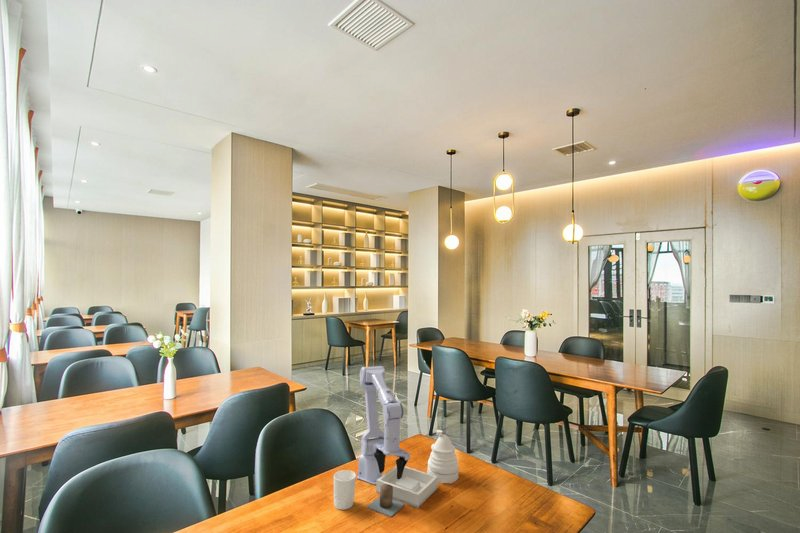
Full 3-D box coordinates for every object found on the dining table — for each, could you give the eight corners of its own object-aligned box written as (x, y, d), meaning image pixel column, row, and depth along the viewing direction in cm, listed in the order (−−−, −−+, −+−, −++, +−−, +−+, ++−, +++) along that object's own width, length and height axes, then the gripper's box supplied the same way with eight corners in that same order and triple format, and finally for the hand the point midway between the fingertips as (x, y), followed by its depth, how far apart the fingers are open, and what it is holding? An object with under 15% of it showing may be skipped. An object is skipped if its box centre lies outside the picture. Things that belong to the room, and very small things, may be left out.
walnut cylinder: (377, 505, 132) (377, 488, 132) (384, 499, 136) (384, 482, 136) (387, 510, 130) (388, 492, 130) (394, 504, 134) (395, 486, 134)
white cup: (358, 501, 135) (359, 472, 136) (348, 513, 128) (349, 482, 129) (338, 496, 138) (340, 468, 139) (328, 507, 131) (329, 478, 131)
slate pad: (366, 507, 131) (366, 506, 131) (381, 496, 139) (381, 495, 139) (391, 517, 126) (391, 516, 126) (404, 504, 134) (404, 503, 134)
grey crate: (376, 492, 142) (376, 480, 142) (398, 475, 155) (398, 464, 156) (418, 508, 132) (418, 494, 133) (437, 488, 146) (437, 476, 146)
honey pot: (424, 481, 151) (426, 435, 153) (429, 466, 164) (431, 424, 165) (457, 486, 148) (458, 439, 150) (459, 471, 161) (460, 428, 162)
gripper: (369, 435, 137) (367, 473, 136) (403, 445, 130) (401, 485, 129) (380, 429, 143) (378, 466, 142) (413, 438, 136) (412, 477, 135)
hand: (390, 475), depth 136 cm, fingers open, 7 cm apart
